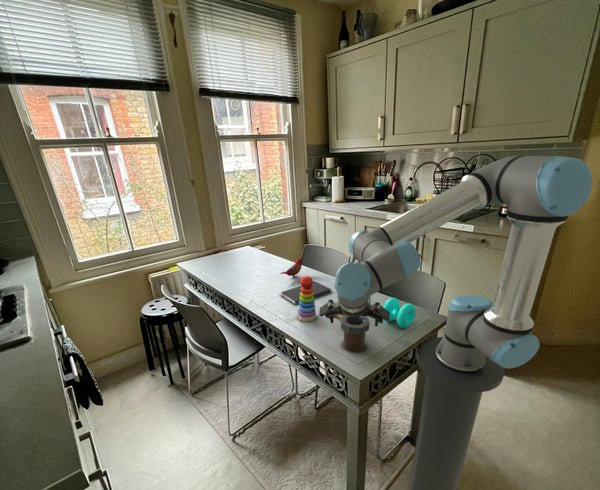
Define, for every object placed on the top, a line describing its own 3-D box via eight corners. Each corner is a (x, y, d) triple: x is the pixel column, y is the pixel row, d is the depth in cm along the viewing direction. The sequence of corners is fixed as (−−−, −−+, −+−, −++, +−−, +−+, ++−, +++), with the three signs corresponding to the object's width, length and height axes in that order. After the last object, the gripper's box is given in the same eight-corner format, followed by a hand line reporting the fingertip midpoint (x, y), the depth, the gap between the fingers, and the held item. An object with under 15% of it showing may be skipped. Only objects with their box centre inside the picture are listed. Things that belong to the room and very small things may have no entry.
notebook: (295, 304, 145) (330, 291, 156) (295, 301, 144) (330, 288, 155) (280, 295, 155) (315, 283, 165) (280, 292, 154) (314, 281, 165)
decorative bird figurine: (305, 274, 177) (304, 257, 173) (282, 284, 166) (281, 266, 162) (301, 273, 179) (301, 256, 175) (278, 283, 168) (277, 265, 164)
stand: (369, 345, 114) (370, 326, 111) (355, 354, 110) (356, 335, 106) (353, 337, 119) (353, 318, 116) (339, 345, 115) (339, 326, 112)
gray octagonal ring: (374, 326, 110) (374, 320, 109) (356, 337, 105) (356, 331, 104) (353, 316, 117) (353, 310, 116) (335, 326, 112) (335, 320, 111)
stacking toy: (313, 323, 129) (312, 281, 122) (295, 320, 132) (292, 279, 124) (318, 314, 136) (318, 274, 128) (301, 311, 139) (299, 272, 131)
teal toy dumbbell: (393, 314, 133) (395, 293, 129) (415, 323, 126) (418, 301, 122) (379, 323, 127) (381, 301, 123) (401, 333, 120) (404, 310, 116)
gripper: (303, 310, 81) (313, 329, 101) (404, 317, 76) (394, 335, 96) (306, 283, 83) (316, 306, 103) (404, 288, 79) (395, 311, 98)
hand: (354, 320), depth 99 cm, fingers open, 13 cm apart
